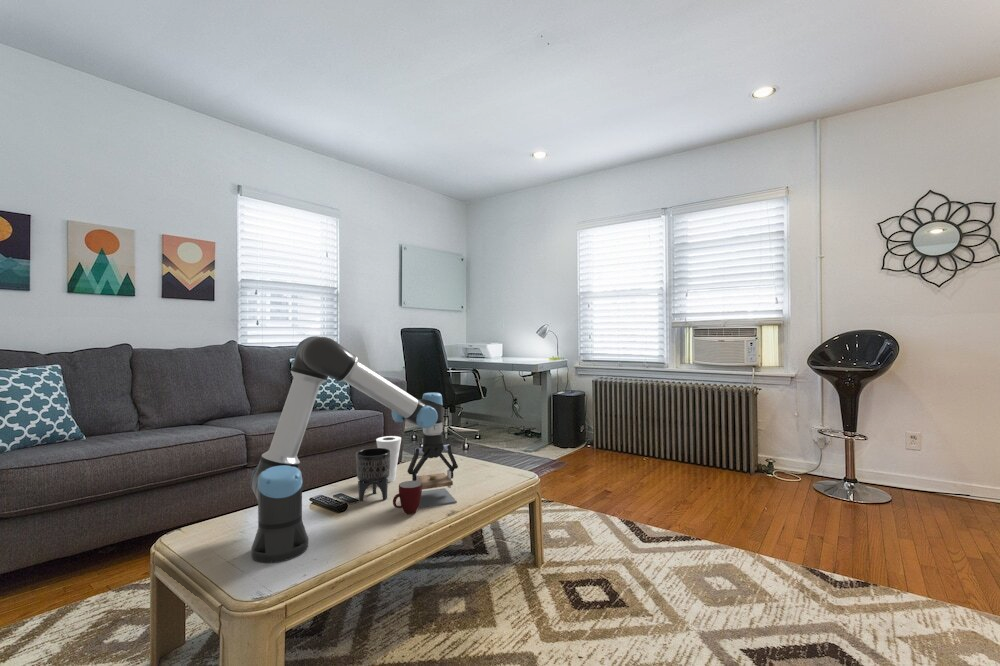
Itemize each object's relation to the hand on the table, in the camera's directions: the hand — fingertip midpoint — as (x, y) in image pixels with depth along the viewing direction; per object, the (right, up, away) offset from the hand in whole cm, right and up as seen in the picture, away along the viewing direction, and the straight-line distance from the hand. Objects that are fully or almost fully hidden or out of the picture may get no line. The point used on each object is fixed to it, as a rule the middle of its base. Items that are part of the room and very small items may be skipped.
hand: (433, 489), depth 178 cm
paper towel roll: (-22, -4, +22) cm, 32 cm away
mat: (0, -4, 0) cm, 4 cm away
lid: (0, +3, 0) cm, 3 cm away
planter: (-23, -4, +1) cm, 24 cm away
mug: (-7, -4, -15) cm, 17 cm away
